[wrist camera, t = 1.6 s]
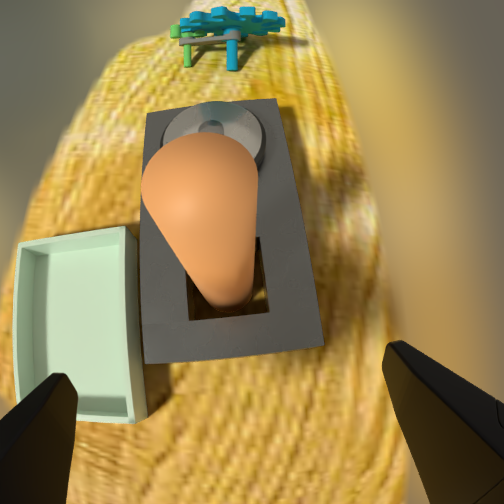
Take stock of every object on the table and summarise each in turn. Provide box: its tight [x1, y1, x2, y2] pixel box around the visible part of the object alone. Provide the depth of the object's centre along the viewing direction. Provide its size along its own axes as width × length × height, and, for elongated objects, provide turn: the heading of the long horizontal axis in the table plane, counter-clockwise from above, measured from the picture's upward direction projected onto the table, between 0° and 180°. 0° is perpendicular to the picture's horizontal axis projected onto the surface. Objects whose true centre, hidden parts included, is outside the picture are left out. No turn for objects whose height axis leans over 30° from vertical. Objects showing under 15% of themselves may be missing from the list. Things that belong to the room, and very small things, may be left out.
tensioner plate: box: [140, 98, 324, 364], centre depth 20 cm, size 18×10×5 cm, turn 7°
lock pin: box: [141, 132, 258, 312], centre depth 15 cm, size 3×3×13 cm
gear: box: [170, 6, 285, 71], centre depth 26 cm, size 11×6×10 cm
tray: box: [13, 226, 148, 424], centre depth 18 cm, size 12×9×2 cm
